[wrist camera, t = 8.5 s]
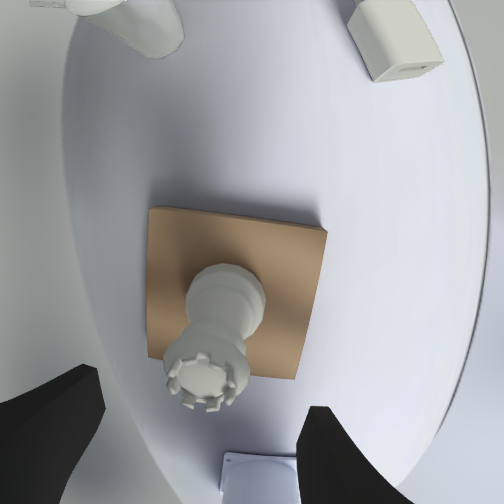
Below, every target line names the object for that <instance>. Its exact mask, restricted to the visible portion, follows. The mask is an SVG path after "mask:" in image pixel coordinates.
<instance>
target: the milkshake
mask: <svg viewBox="0 0 504 504" xmlns="http://www.w3.org/2000/svg"><path fill="white" fill-rule="evenodd" d="M29 4H30V6H40V7H57V8H68V10H69V11H70V12H72V13H73V14H76V15H77V16H79V17H81V18H83V19H85V20H87V21H88V22H90V23H92V24H94V25H96V26H98V27H100V28H101V29H103V30H105V31H107V32H109V33H111V34H113V35H115V36H116V37H118V38H119V39H121V40H122V41H124V42H125V43H127V44H128V45H130V46H131V47H133V48H134V49H135V50H137V51H138V52H140V53H141V54H142V55H144V56H145V57H147V58H148V59H153V58H164V57H166V56H167V55H169V54H171V53H172V52H174V51H176V50H177V49H178V47H179V45H180V44H181V42H182V41H183V39H184V33H183V26H182V23H181V21H180V18H179V16H178V13H177V11H176V8H175V6H174V3H173V1H172V0H65V3H54V2H40V1H39V2H38V1H30V2H29Z"/></svg>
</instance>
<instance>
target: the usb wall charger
mask: <svg viewBox="0 0 504 504" xmlns="http://www.w3.org/2000/svg"><path fill="white" fill-rule="evenodd" d="M353 1H354V3H355V4H356V6H357V7H356V9H355V11H354V13H353V15H352V16H351V18H350V20H349V22H348V23H347V28H348V30H349V31H350V33H351V35H352V37H353V39H354V41H355V43H356V45H357V47H358V49H359V51H360V53H361V55H362V57H363V60H364V62H365V64H366V66H367V68H368V70H369V73H370V75H371V77H372V80H373V82H374V83H381V82H388V81H395V80H402V79H410V78H416V77H419V76H422V75H424V74H426V73H427V72H429V71H431V70H433V69H434V68H436V67H438V66H440V65H441V64H443V63H444V62H445V61H444V59H443V57H442V55H441V53H440V50H439V48H438V46H437V44H436V42H435V40H434V38H433V37H432V35H431V33H430V31H429V29H428V27H427V25H426V24H425V22H424V20H423V18H422V17H421V15H420V13H419V11H418V10H417V8H416V7H415V5H414V3H413V2H412V1H411V0H365V1H363V2H362V0H353Z"/></svg>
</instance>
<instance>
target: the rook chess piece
mask: <svg viewBox="0 0 504 504" xmlns="http://www.w3.org/2000/svg"><path fill="white" fill-rule="evenodd" d="M265 302H266V298H265V294H264V291H263V287H262V285H261V283H260V282H259V281H258V280H257V278H256V277H255V276H254V275H253V273H251V272H249V271H247V270H246V269H244V268H242V267H240V266H239V265H232V264H225V263H221V264H217V265H213V266H209V267H206V268H205V269H204V270H202V271H201V272H200V273H199V274H197V275H196V276H195V278H194V279H193V281H192V283H191V285H190V287H189V290H188V292H187V294H186V307H185V310H186V314H187V317H188V319H189V322H190V325H189V326H187V327H186V328H184V330H183V332H182V334H181V336H180V338H178V339H177V340H175V341H174V342H172V343H171V344H169V346H168V348H167V350H166V352H165V354H164V356H163V360H164V371H165V373H166V375H167V377H168V379H169V380H168V382H167V384H166V386H167V388H168V390H169V392H170V393H171V395H175V394H178V392H180V393H181V394H182V395H183V396H184V397H183V400H182V403H181V404H182V405H184V406H186V407H189V408H191V409H194V406H195V403H196V402H200V403H205V404H206V406H205V408H206V412H212V411H219V409H220V404H221V402H224V403H226V404H228V405H229V406H230V405H231V404H232V402H233V401H234V400H235V399H236V396H237V395H239V394H240V393H241V392H242V391H243V389H244V388H245V387H246V386H247V384H248V382H249V376H250V368H249V365H248V362H247V359H246V357H245V355H246V346H245V343H244V339H246V338H247V337H249V336H250V335H252V334H253V333H254V332H255V330H256V329H257V327H258V326H259V324H260V323H261V321H262V320H263V314H264V309H265Z"/></svg>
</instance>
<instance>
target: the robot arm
mask: <svg viewBox="0 0 504 504" xmlns="http://www.w3.org/2000/svg"><path fill="white" fill-rule="evenodd" d="M105 409H106V408H105V403H104V399H103V395H102V390H101V387H100V381H99V376H98V371H97V368H94V367H91V366H88V365H85V364H81V365H79V366H77V367H75V368H73V369H71V370H69V371H68V372H66V373H64V374H62V375H60V376H58V377H56V378H54V379H53V380H51V381H49V382H47V383H45V384H43V385H41V386H39V387H37V388H35V389H33V390H31V391H29V392H26V393H24V394H22V395H20V396H17V397H15V398H13V399H11V400H8V401H5V402H2V403H0V504H59V503H60V500H61V497H62V494H63V491H64V489H65V486H66V484H67V481H68V479H69V477H70V475H71V473H72V471H73V470H74V468H75V466H76V465H77V463H78V461H79V460H80V458H81V456H82V455H83V453H84V451H85V449H86V448H87V446H88V445H89V443H90V441H91V440H92V438H93V436H94V434H95V433H96V431H97V429H98V426H99V424H100V422H101V419H102V417H103V414H104V412H105ZM298 483H299V490H300V497H301V504H414V503H413V502H411V501H410V500H408V499H407V498H406V497H404V496H403V495H402V494H401V493H400V492H399V491H397V490H396V489H395V488H394V487H393V486H392V485H391V484H390V483H389V482H388V481H387V480H386V479H385V478H384V477H383V476H382V475H381V474H380V473H379V472H378V471H377V470H376V469H375V468H374V467H373V466H372V465H371V463H370V462H369V461H368V460H367V459H366V457H365V456H364V455H363V454H362V452H361V451H360V450H359V449H358V447H357V446H356V445H355V443H354V442H353V441H352V439H351V438H350V437H349V435H348V434H347V433H346V431H345V430H344V428H343V427H342V425H341V424H340V422H339V421H338V420H337V418H336V417H335V415H334V414H333V412H332V411H331V409H330V408H329V407H324V406H310V409H309V411H308V414H307V417H306V420H305V422H304V425H303V428H302V430H301V433H300V436H299V438H298V441H297V443H296V457H276V456H261V455H250V454H241V453H232V452H227V453H225V454H224V460H223V468H222V475H221V483H220V490H219V494H220V495H223V499H222V504H299V493H298Z"/></svg>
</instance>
